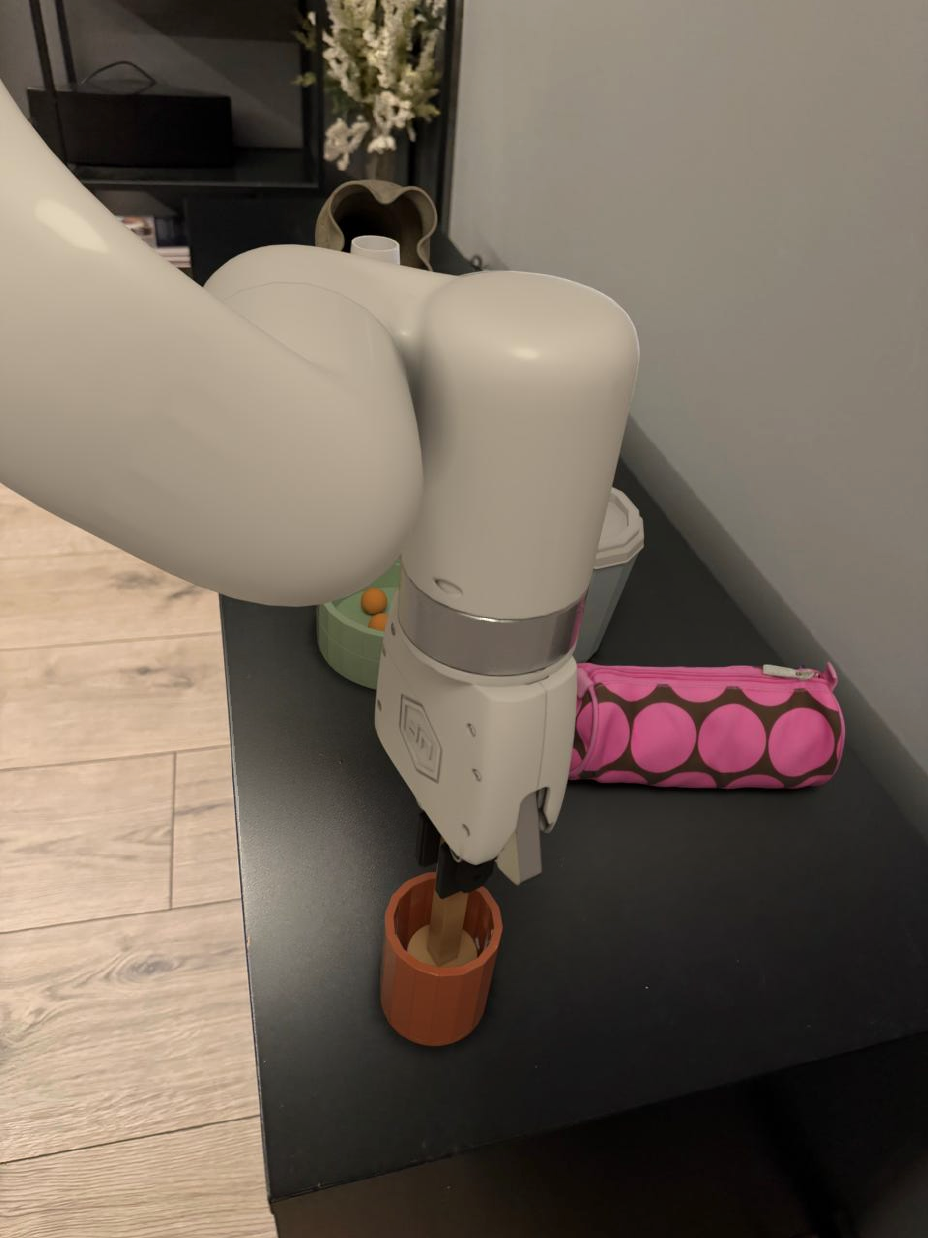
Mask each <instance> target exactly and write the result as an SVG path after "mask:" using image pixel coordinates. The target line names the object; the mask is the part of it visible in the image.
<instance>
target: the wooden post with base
mask: <svg viewBox="0 0 928 1238" xmlns="http://www.w3.org/2000/svg"><path fill="white" fill-rule="evenodd" d="M444 842H446V841H445V840H444V838H443V837H442V835H441V838H440V846H441V844H442V843H444ZM440 846H439V850H440ZM438 858H439V854H438ZM437 866H438V862H437V865H436V867H437ZM435 872H436V874H437V870H436V871H435ZM435 882H436V879H435ZM467 899H468V893H463V892H462V891H460V892H458V893H456V894H454V895H451V896H449V897H447V898H445V899H440V897H439V896H438V894H437V893H436V891H435V887H434V895H433V903H432V911H431V919H430V924H429V925H426V926H424V927H422V928H421V929H419V930H418V931H417V932H416V933H415V934H414V935H413V936H412V938H411V939H410V941H409V944H408V947H407V952H408V953H409V954H410V955H411V956H413V957H414V958H415V959H417V960H418V961H419V962H421V963H425V964H428V965H431V966H435V967H438V968H446V967H459V966H462V965H464V964H466V963H468V962H470V961H472V960H474V959H476V958H477V957H478V955H477V949H476V946H475V943H474V941H473V939H472V938H471V937H470V935H469V934H468V933H467V932H466V931H464V930H463V923H464V917H465V911H466V905H467Z"/></svg>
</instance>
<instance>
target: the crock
mask: <svg viewBox="0 0 928 1238" xmlns="http://www.w3.org/2000/svg"><path fill="white" fill-rule="evenodd" d="M435 879H436V871H429V872H428V871H427V872H424V873H422V874H420V875H416V876H415V877H412V878H410V879H408V880H406V881H405V882H404V883H403V884H402V885H401V886H400V887H399V888H398V889H397V890H396V891H395V892H394V893H393V894H392V895H391V897H390V900H389V902H388V904H387V907H386V910H385V913H384V921H383V933H382V948H381V960H380V961H381V962H380V973H379V1001H380V1006H381V1009H382V1012H383V1014H384V1016H385V1018H386V1020H387V1022H388V1023H389V1025H390V1026H391V1027H392V1028H393V1030H395V1031H396V1032H397V1033H398V1034H399V1035H400V1036H402V1037H404V1038H405V1039H407V1040H408V1041H410V1042H413V1043H415V1044H419V1045H422V1046H427V1047H441V1046H447V1045H451V1044H454V1043H456V1042H458V1041H460V1040H463V1038H465V1037H467V1036H468V1035H470V1033H472V1031H473V1030H475V1028H476V1027H477V1026H478V1024H479V1023H480V1021H481V1020H482V1018H483V1015H484V1013H485V1009H486V1005H487V1002H488V997H489V994H490V988H491V984H492V979H493V975H494V970H495V966H496V962H497V956H498V952H499V948H500V945H501V944H500V943H501V939H502V934H503V930H504V925H503V921H502V914H501V909H500V907H499V905H498V903H497V902H496V901H495V899H494V897H493V896H492V894H491V893H490V891H489V890H488V889H487V888H486V887H484V885H483V886H481V887H480V888H478V889H476V890H474V891H472V892H469V893H468V899H467V905H466V911H465V917H464V923H463V930H464V931H466V932H467V933H468V934H469V935H470V937H471V938H472V939H473V941H474V943H475V946H476V949H477V955H478V957H477V958H476V959H474V960H472V961H470V962H468V963H466V964H464V965H462V966H459V967H446V968H438V967H435V966H431V965H428V964H425V963H421V962H419V961H418V960H417V959H415V958H414V957H413V956H411V955H410V954H409V953H408V952H407V947H408V944H409V941H410V939H411V938H412V936H413V935H414V934H415V933H416V932H417V931H418V930H419V929H421V928H422V927H424V926H426V925H429V924H430V919H431V911H432V903H433V895H434V887H435Z"/></svg>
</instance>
